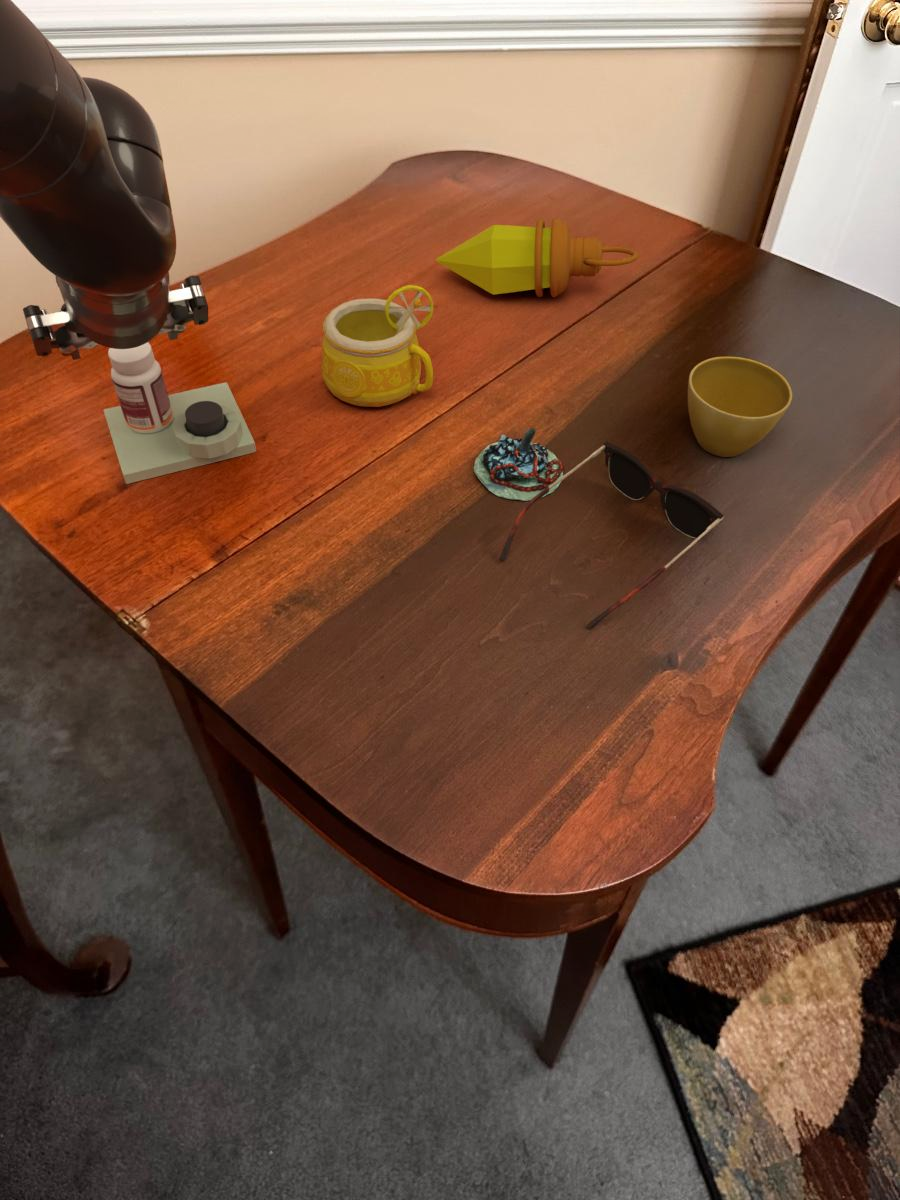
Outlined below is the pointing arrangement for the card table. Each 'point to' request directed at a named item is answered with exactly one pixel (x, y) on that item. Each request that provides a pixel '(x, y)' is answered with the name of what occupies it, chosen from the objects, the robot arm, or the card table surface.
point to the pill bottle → (140, 389)
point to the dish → (518, 468)
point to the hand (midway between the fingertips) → (122, 338)
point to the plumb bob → (529, 258)
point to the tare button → (205, 418)
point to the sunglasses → (637, 483)
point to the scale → (179, 437)
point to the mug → (375, 350)
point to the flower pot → (735, 403)
